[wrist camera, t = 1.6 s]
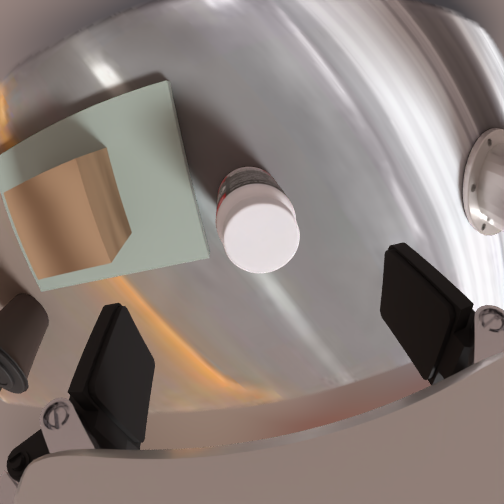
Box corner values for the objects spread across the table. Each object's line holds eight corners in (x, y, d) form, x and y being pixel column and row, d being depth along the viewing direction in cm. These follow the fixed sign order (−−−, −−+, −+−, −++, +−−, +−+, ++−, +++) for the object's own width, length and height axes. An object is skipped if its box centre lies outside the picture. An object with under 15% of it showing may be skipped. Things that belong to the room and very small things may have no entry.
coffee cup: (20, 334, 27) (-12, 389, 18) (-3, 281, 23) (-48, 334, 14) (67, 342, 28) (37, 407, 19) (45, 284, 24) (-2, 349, 15)
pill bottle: (211, 173, 21) (204, 206, 14) (273, 160, 21) (300, 186, 14) (225, 229, 23) (226, 286, 16) (282, 217, 23) (310, 269, 16)
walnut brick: (106, 147, 18) (75, 158, 14) (132, 232, 21) (111, 263, 17) (39, 175, 18) (3, 192, 14) (65, 250, 21) (38, 279, 17)
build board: (170, 82, 18) (167, 80, 17) (209, 251, 24) (209, 257, 23) (-1, 157, 18) (-9, 160, 17) (46, 285, 24) (41, 291, 23)
